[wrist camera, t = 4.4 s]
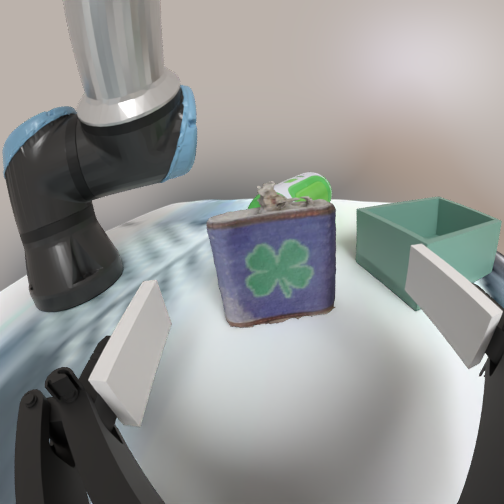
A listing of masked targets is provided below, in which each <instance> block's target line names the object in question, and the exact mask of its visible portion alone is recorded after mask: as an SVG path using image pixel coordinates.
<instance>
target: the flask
mask: <svg viewBox="0 0 504 504" xmlns="http://www.w3.org/2000/svg"><path fill="white" fill-rule="evenodd" d="M274 186H275V183H274V182H273V181H270V182H268V183H266V184H263V187H260V186H257V189H259V190H258V191H257V192H258V194H259V195H260V198H259V199H258V200H257V201H258V202H259V204H260V206H261V207H258V208H252V209H246V210H240V211H234V212H227V213H224V214H220V215H217V216H213V217H211V218H209V220H208V221H207V232H208V235H209V239H210V244H211V247H212V252H213V257H214V264H215V267H216V271H217V277H218V285H219V289H220V292H221V296H222V300H223V306H224V310H225V316H226V320H227V321H228V323H229V325H230V326H231V327H233V326H235V327H240V328H244V327H246V328H247V327H249V328H250V327H254V326H253V325H254V324H255V325H257V324H259V325H260V324H267V323H269V324H272V323H279V322H284V321H285V320H288V319H290V318H297V319H299V318H301V317H303V316H311V317H312V316H314V315H317V314H318V315H320V314H327V313H328V312H330V311H331V310H332V309H333V308H335V307H333V306H334V300H335V274H336V257H335V254H336V224H335V217H336V214H335V212H336V209H335V207H334V205H333V204H332V203H330V202H327V201H326V200H323V199H317V200H312V198H310V197H309V196H304V197H300V198H303V199H305V200H306V201H299V202H293V201H296V200H300V198H296V197H295V198H289V199H287V198H286V197H284V196H282V195H280V194H277V192H276V191H275V190H274Z"/></svg>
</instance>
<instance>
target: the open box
mask: <svg viewBox="0 0 504 504" xmlns="http://www.w3.org/2000/svg"><path fill="white" fill-rule="evenodd" d="M500 227H501V220H498V219H496V218H494V217H491V216H489V215H487V214H484V213H482V212H479V211H477V210H474V209H471V208H469V207H466V206H464V205H461V204H458V203H455V202H453V201H450V200H447V199H444V198H441V197H432V198H424V199H418V200H411V201H404V202H397V203H391V204H384V205H378V206H372V207H366V208H359V209H357V244H356V262H357V263H358V264H360V265H361V266H362V267H363V268H365V269H366V270H367V271H368V272H369V273H371V274H372V275H373V276H374V277H376V278H377V279H378V280H379V281H381V282H382V283H383V284H384V285H385V286H387V287H388V288H389V289H390V290H391V291H393V292H394V293H395V294H396V295H397V296H399V297H400V298H401V299H402V300H403V301H404V302H406V303H407V304H408V305H409V306H410V307H411V308H413V309H414V310H415V311H418V310H420V309H421V308H420V307H419V306H418V305H417V303H416V302H415V301H414V300H413V299H412V298H411V297H410V295H409V294H408V293H407V292H406V291H405V285H406V278H407V272H408V264H409V256H410V247H411V245H416V244H423V245H424V246H425V247H427V248H428V249H430V250H431V251H432V252H434V253H435V254H436V255H437V256H439V257H440V258H441V259H443V260H444V261H445V262H446V263H448V264H449V265H450V266H452V267H453V268H454V269H455V270H456V271H458V272H459V273H460V274H461V275H463V276H464V277H465V278H466V279H467V280H469V281H470V282H472V283H474V282H475V281H477V280H479V279H481V278H482V277H484V276H486V275H487V274H489V273H491V272H492V268H493V264H494V259H495V255H496V250H497V245H498V240H499V234H500Z"/></svg>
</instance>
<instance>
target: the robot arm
mask: <svg viewBox="0 0 504 504" xmlns="http://www.w3.org/2000/svg"><path fill="white" fill-rule="evenodd" d="M63 5H64V10H65V16H66V21H67V26H68V31H69V35H70V40H71V44H72V48H73V52H74V56H75V60H76V64H77V67H78V71H79V74H80V78H81V81H82V85H83V88H84V91H85V93H84V94H83V96H82V98H81V99H80V101H79V103H78V106H77V112H76V111H75V109H74V108H72V107H68V106H65V107H58V108H54V109H52V110H50V111H48V112H42V113H40V114H38V115H36V116H34V117H32V118H30V119H28V120H27V121H25V122H24V123H22V124H21V125H20V126H18V127H17V128H16V129H15V130H14V131H13V132H12V133H11V134H10V135H9V137H8V138H7V140H6V142H5V144H4V148H3V164H4V178H5V179H6V183H7V188H8V193H9V197H10V202H11V206H12V209H13V213H14V217H15V221H16V224H17V227H18V230H19V234H20V237H21V240H22V243H23V246H24V249H25V259H26V269H27V276H28V281H29V291H30V295H31V297H32V299H33V301H34V303H35V305H36V307H37V308H38V309H39V310H41V311H46V312H54V311H60V310H65V309H68V308H71V307H74V306H77V305H79V304H81V303H84V302H86V301H88V300H90V299H92V298H93V297H95V296H97V295H98V294H100V293H101V292H103V291H104V290H106V289H107V288H108V287H110V286H111V285H112V284H113V283H114V282H115V281H116V280H117V279H118V278H119V276H120V275H121V273H122V271H123V264H122V261H121V258H120V255H119V253H118V251H117V249H116V248H115V246H114V245H113V243H112V242H111V240H110V239H109V237H108V236H107V234H106V233H105V231H104V230H103V228H102V227H101V226H100V224H99V223H98V221H97V219H96V216H95V212H94V209H93V204H92V200H94V199H98V198H101V197H105V196H108V195H112V194H116V193H119V192H123V191H127V190H131V189H135V188H139V187H143V186H148V185H152V184H156V183H163V182H165V181H167V180H169V179H172V178H176V177H179V176H182V175H185V174H186V173H188V172H189V171H190V169H191V168H192V166H193V163H194V160H195V156H196V146H197V127H196V105H195V99H194V95H193V92H192V90H191V88H190V87H188V86H183V85H180V79H179V77H178V75H177V74H176V73H175V72H173V71H171V70H170V69H168V68H166V67H164V59H163V45H162V29H161V6H160V0H63ZM405 291H406V292H407V293H408V294H409V295H410V297H411V298H412V299H413V300H414V301H415V302H416V303H417V305H418V306H419V307H420V308H421V309H422V310H423V312H424V313H425V314H426V315H427V316H428V318H429V319H430V320H431V321H432V323H433V324H434V325H435V326H436V327H437V329H438V330H439V331H440V332H441V334H442V335H443V336H444V337H445V339H446V340H447V341H448V343H449V344H450V345H451V347H452V348H453V349H454V350H455V352H456V353H457V354H458V356H459V357H460V358H461V360H462V361H463V363H464V364H465V365H466V367H467V368H468V369H470V368H472V367H474V366H475V365H477V364H479V363H480V362H481V360H482V358H483V356H484V354H485V353H486V354H487V356H488V359H487V361H486V363H485V364H484V366H483V368H482V370H481V372H480V374H479V376H481V375H482V374H483V372H484V371H485V375H484V377H485V385H484V396H483V405H482V412H481V419H480V425H479V430H478V436H477V440H476V445H475V449H474V454H473V458H472V461H471V465H470V469H469V472H468V475H467V479H466V482H465V485H464V488H463V490H462V493H461V496H460V499H459V501H458V503H457V504H504V308H502V307H501V306H500V305H499V304H498V303H497V302H496V301H495V300H494V299H493V298H492V297H491V298H490V296H489V295H488V294H487V293H485V291H484V290H483V289H481V288H480V287H479V286H478V285H476V284H474V283H472V282H470V281H469V280H467V279H466V278H465V277H464V276H463V275H461V274H460V273H459V272H458V271H456V270H455V269H454V268H453V267H452V266H450V265H449V264H448V263H446V262H445V261H444V260H443V259H441V258H440V257H439V256H437V255H436V254H435V253H434V252H432V251H431V250H430V249H428V248H427V247H425V246H424V245H423V244H416V245H411V247H410V256H409V264H408V272H407V278H406V285H405ZM171 325H172V323H171V320H170V317H169V315H168V312H167V309H166V306H165V303H164V300H163V297H162V294H161V291H160V288H159V285H158V282H157V280H150V281H143V283H142V284H141V286H140V287H139V289H138V291H137V292H136V294H135V296H134V297H133V299H132V301H131V302H130V304H129V306H128V307H127V309H126V311H125V312H124V314H123V316H122V318H121V319H120V321H119V323H118V325H117V326H116V328H115V330H114V332H113V334H112V335H111V336H106V337H105V338H103V339H102V340H101V341H100V342H99V343H98V345H97V347H96V348H95V350H94V353H93V354H92V355H91V357H90V360H89V361H88V363H87V365H86V366H85V368H84V370H83V372H82V374H81V376H80V378H79V380H78V378H77V377H76V375H75V374H74V372H73V371H72V370H71V369H70V368H68V367H61V368H58V369H56V370H54V371H53V372H51V374H50V375H49V376H48V377H47V379H46V381H45V388H46V389H47V390H48V392H49V393H50V394H51V395H52V396H53V397H49V398H46V397H45V396H44V395H43V394H42V392H41V391H39V390H37V389H35V390H31V391H28V392H27V393H26V394H25V395H24V396H23V397H22V399H21V402H20V407H19V414H18V421H17V431H16V443H15V495H16V504H89V501H88V496H87V493H88V495H89V497H90V499H91V501H92V503H93V504H165V503H164V501H163V500H162V499H161V497H160V496H159V495H158V493H157V492H156V490H155V489H154V488H153V486H152V485H151V483H150V482H149V480H148V479H147V477H146V476H145V474H144V473H143V471H142V470H141V468H140V466H139V465H138V463H137V462H136V460H135V458H134V457H133V455H132V453H131V451H130V450H129V448H128V446H127V444H126V443H125V441H124V439H123V437H122V435H121V433H120V431H119V430H118V428H117V427H116V426H115V421H116V418H118V419H119V420H120V421H121V423H122V424H123V425H128V426H136V427H141V423H142V419H143V416H144V412H145V409H146V405H147V401H148V398H149V395H150V391H151V388H152V384H153V381H154V378H155V374H156V371H157V368H158V365H159V361H160V358H161V355H162V352H163V349H164V346H165V343H166V340H167V337H168V334H169V331H170V328H171ZM49 439H50V444H49Z"/></svg>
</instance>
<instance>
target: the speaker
mask: <svg viewBox="0 0 504 504" xmlns="http://www.w3.org/2000/svg"><path fill="white" fill-rule="evenodd" d="M274 190H275V191H276V192H277V194H280V195H282V196H284V197H286V198H287V199H289V198H295V197H296V198H300V197H304V196H309V197H310V198H312V200H317V199H323V200H326V201H327V202H330V201H331V197H332V189H331V186H330V183H329V182H328V181H327V179H326V178H325V177H323V176H322V175H320V174H317V173H313V172H306V173H302V174H300V175H297V176H295V177H293V178H290V179H288V180H286V181H283V182H281V183H279V184H277V185H275V186H274ZM259 198H260V195H259V194H258V195H257V196H256V197H255V198H254V199H253V201H252V202H251V203H250V205H249V207H248V209H252V208H258V207H261V206H260V204H259V202H258V201H257V200H258V199H259ZM299 201H306V200H305V199H303V198H300V200H296V201H293V202H299Z"/></svg>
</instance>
